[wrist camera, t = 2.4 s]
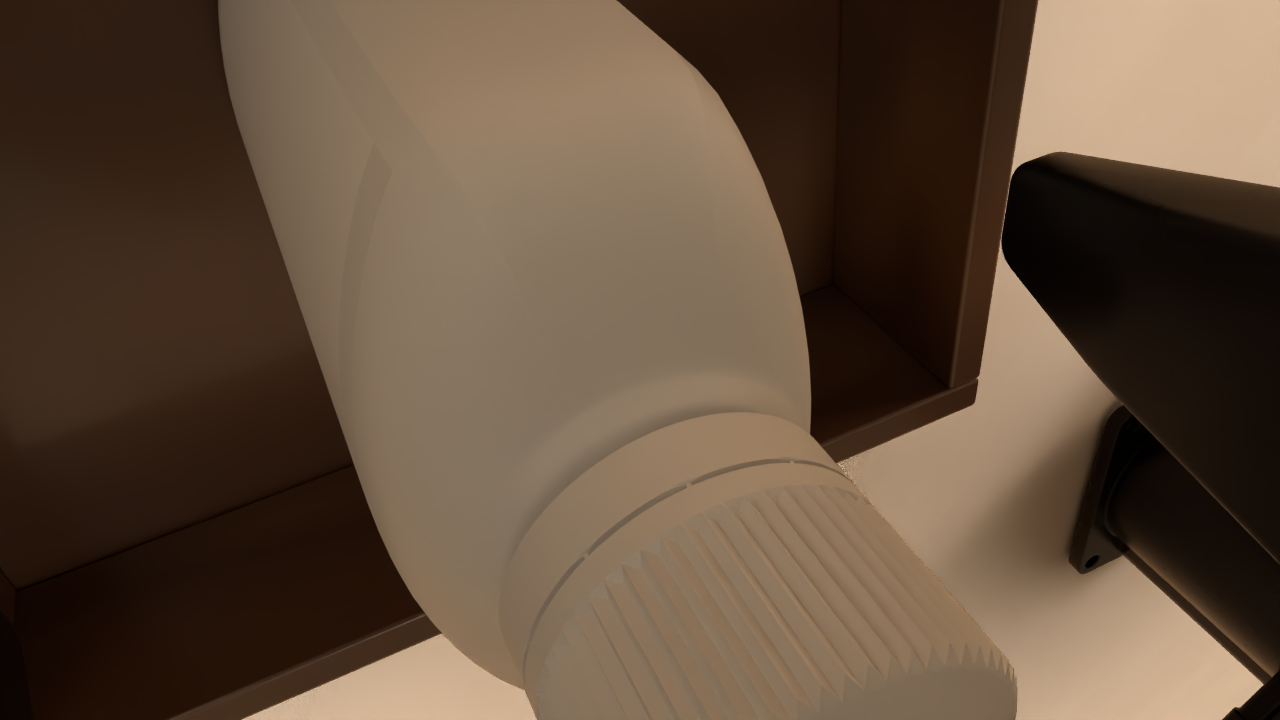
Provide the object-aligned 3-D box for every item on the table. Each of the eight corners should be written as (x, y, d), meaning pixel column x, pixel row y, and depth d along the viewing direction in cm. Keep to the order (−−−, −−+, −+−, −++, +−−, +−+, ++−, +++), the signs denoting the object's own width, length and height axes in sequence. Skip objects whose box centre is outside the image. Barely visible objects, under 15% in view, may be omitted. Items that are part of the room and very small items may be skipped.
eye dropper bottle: (135, 238, 13) (320, 1615, 4) (251, -233, 11) (1150, 667, 2) (455, 295, 15) (979, 1233, 7) (603, -76, 13) (1674, 621, 4)
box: (843, 284, 20) (976, 405, 17) (-5, 605, 16) (-15, 832, 13) (881, -699, 11) (1166, -788, 8) (-971, -546, 7) (-1641, -618, 4)
